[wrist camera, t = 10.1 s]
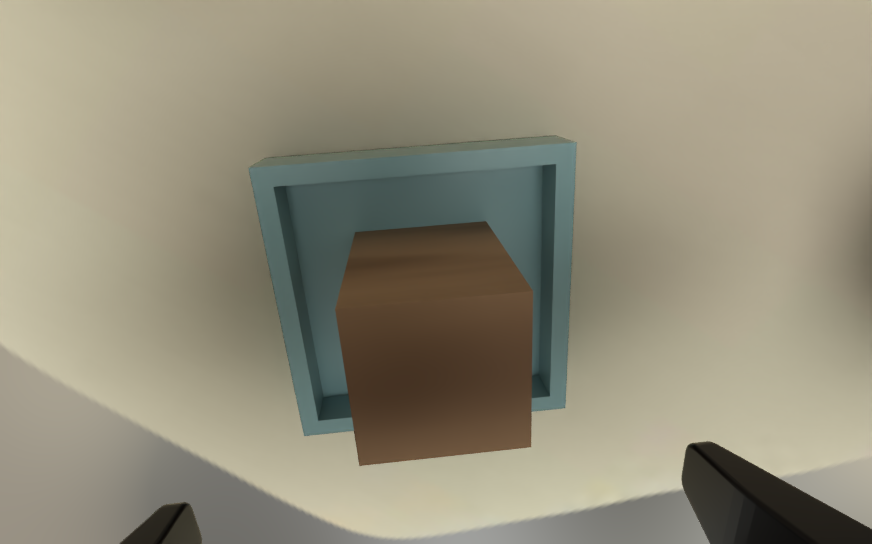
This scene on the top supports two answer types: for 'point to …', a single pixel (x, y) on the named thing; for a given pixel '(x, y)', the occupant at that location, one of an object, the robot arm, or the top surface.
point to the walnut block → (435, 343)
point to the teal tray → (404, 208)
